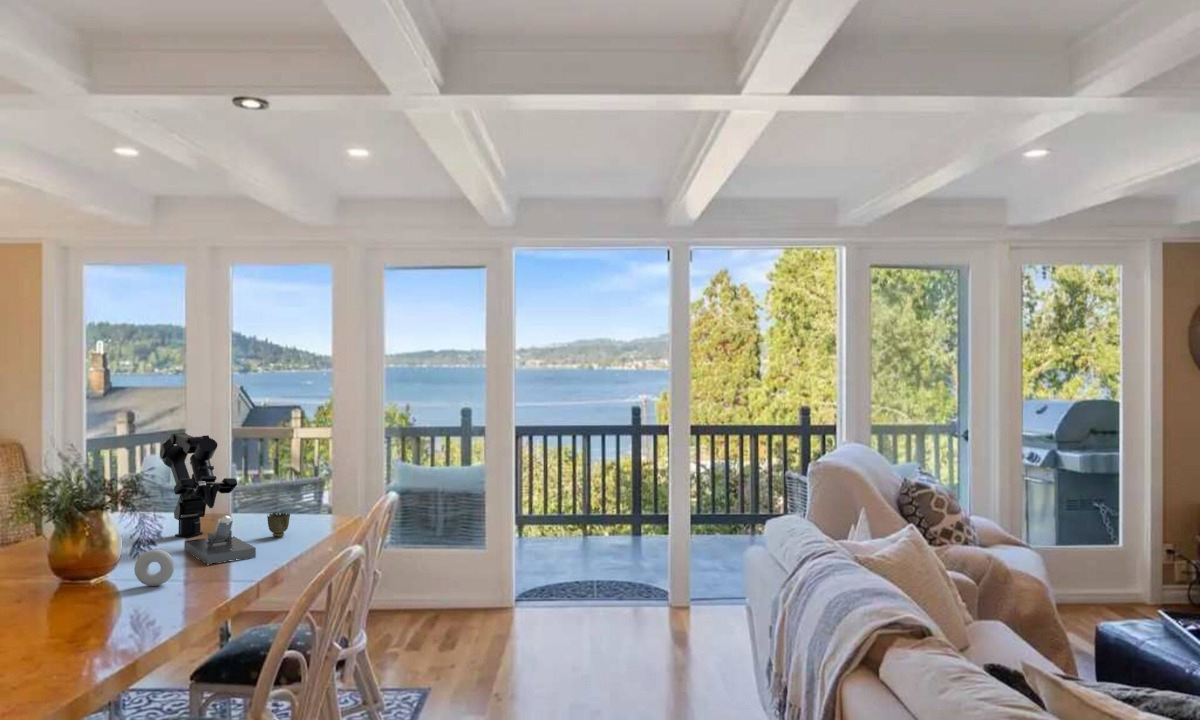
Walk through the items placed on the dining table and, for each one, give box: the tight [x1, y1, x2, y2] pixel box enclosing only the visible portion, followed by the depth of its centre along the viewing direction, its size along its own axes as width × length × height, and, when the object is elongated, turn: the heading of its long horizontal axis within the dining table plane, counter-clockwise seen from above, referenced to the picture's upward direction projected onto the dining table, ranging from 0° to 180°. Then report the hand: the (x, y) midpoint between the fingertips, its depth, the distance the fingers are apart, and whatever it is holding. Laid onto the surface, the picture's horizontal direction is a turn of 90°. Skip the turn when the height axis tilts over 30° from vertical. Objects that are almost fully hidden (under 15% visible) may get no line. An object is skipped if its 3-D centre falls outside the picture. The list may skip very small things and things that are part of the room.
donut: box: [134, 548, 176, 587], centre depth 206 cm, size 10×4×10 cm, turn 100°
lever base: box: [184, 529, 257, 564], centre depth 240 cm, size 24×14×7 cm, turn 44°
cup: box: [266, 511, 291, 538], centre depth 263 cm, size 8×7×8 cm
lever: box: [213, 514, 234, 544], centre depth 238 cm, size 3×4×12 cm
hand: (211, 507), depth 248 cm, fingers closed
